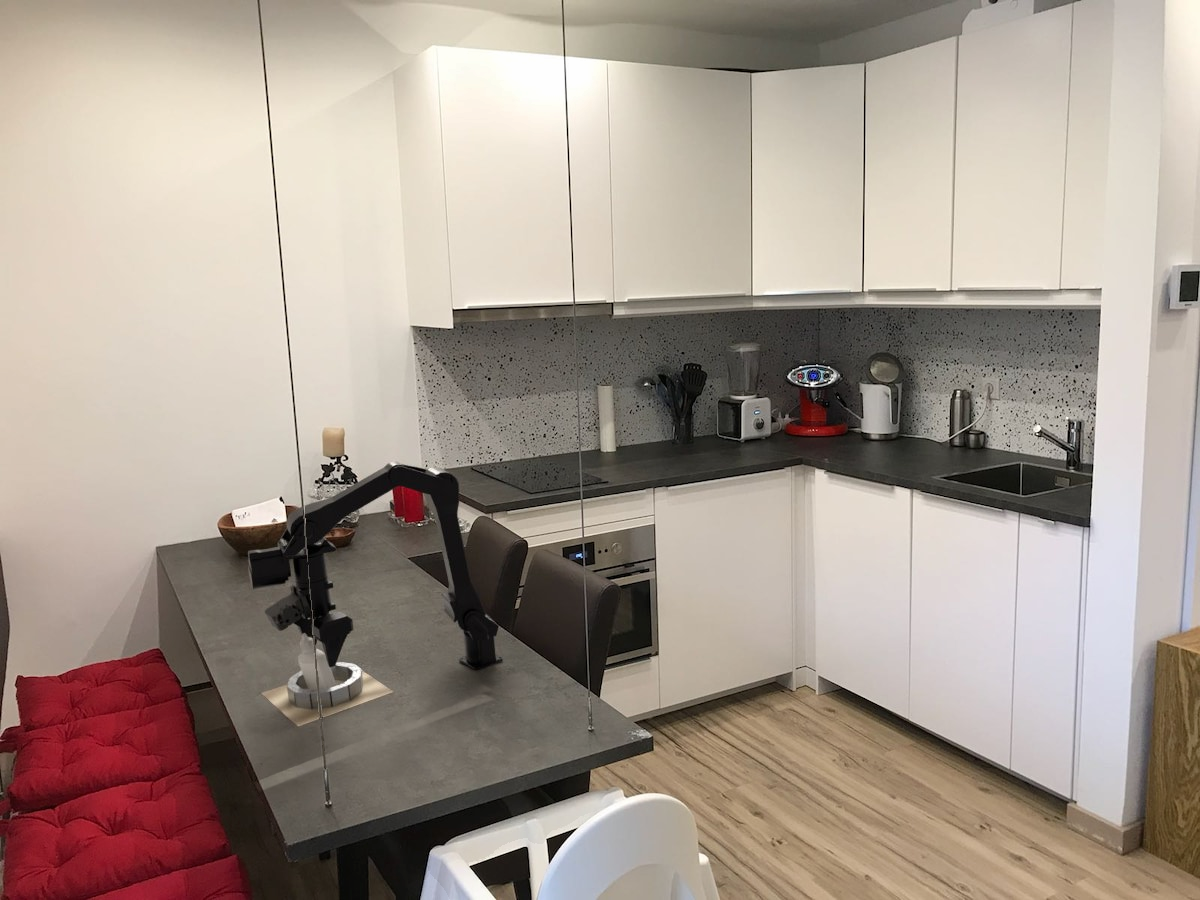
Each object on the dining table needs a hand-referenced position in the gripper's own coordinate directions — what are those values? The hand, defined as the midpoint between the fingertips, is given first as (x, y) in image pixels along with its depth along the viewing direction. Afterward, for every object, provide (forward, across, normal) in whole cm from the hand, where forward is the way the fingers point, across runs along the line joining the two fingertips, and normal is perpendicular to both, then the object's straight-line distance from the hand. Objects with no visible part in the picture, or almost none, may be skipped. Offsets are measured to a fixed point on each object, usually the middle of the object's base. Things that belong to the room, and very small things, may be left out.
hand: (321, 659), depth 172 cm
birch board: (+8, 0, 0) cm, 8 cm away
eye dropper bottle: (+6, 0, 0) cm, 6 cm away
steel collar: (+7, 0, 0) cm, 7 cm away
